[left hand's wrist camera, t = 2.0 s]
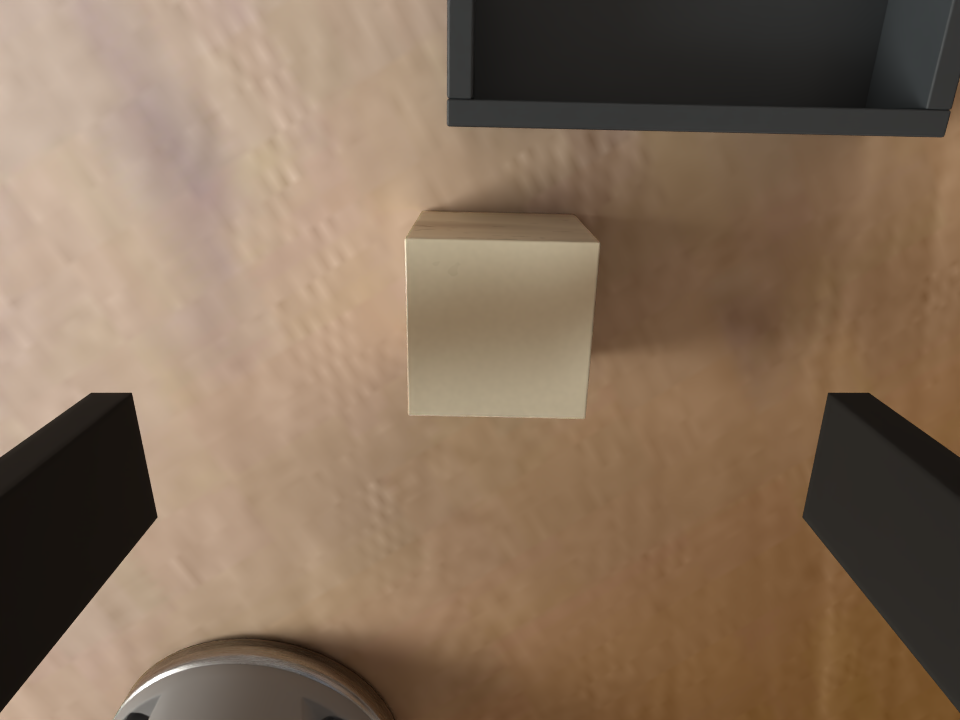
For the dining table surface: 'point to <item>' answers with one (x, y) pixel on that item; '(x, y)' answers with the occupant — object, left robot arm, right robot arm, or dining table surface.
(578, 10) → the tray
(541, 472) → the dining table surface
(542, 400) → the block
